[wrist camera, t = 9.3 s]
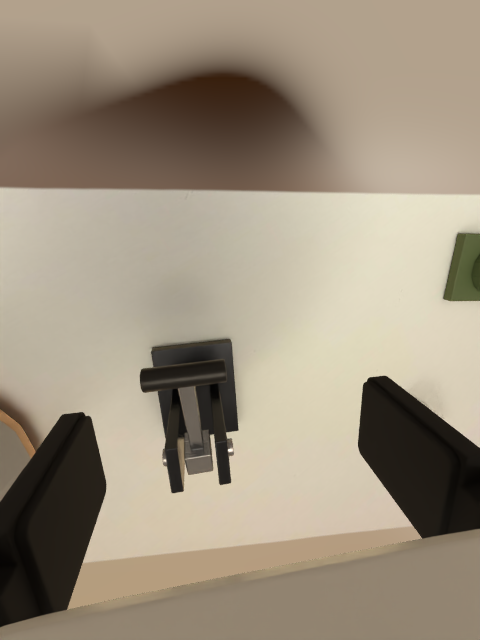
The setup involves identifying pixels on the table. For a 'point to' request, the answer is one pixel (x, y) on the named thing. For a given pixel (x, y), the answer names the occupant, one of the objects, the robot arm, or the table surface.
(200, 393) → the bracket
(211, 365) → the lever
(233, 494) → the table surface
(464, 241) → the button box
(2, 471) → the desk lamp
